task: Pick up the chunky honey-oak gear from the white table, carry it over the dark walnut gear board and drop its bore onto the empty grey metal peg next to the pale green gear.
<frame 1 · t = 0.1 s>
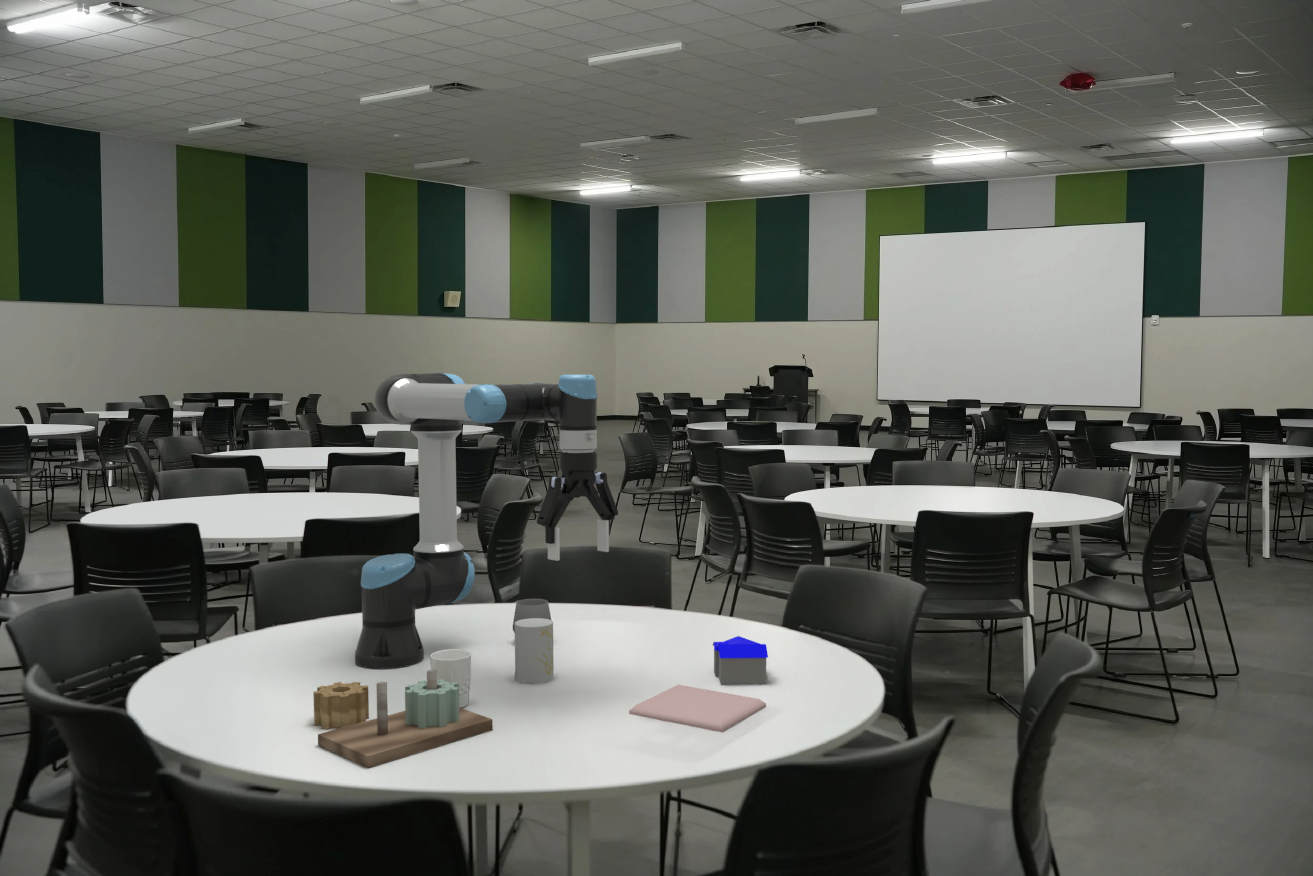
hand: (578, 555, 223), 28 cm above the table, fingers open, 13 cm apart
pale green gear: (432, 719, 200), resting on walnut gear board
house: (740, 679, 234), on the table
panel: (665, 724, 207), on the table
walnut gear board: (407, 737, 197), on the table
oak gear: (341, 720, 206), on the table
white cup: (451, 705, 216), on the table
cup 2: (532, 644, 263), on the table
grey cylinder: (534, 679, 234), on the table
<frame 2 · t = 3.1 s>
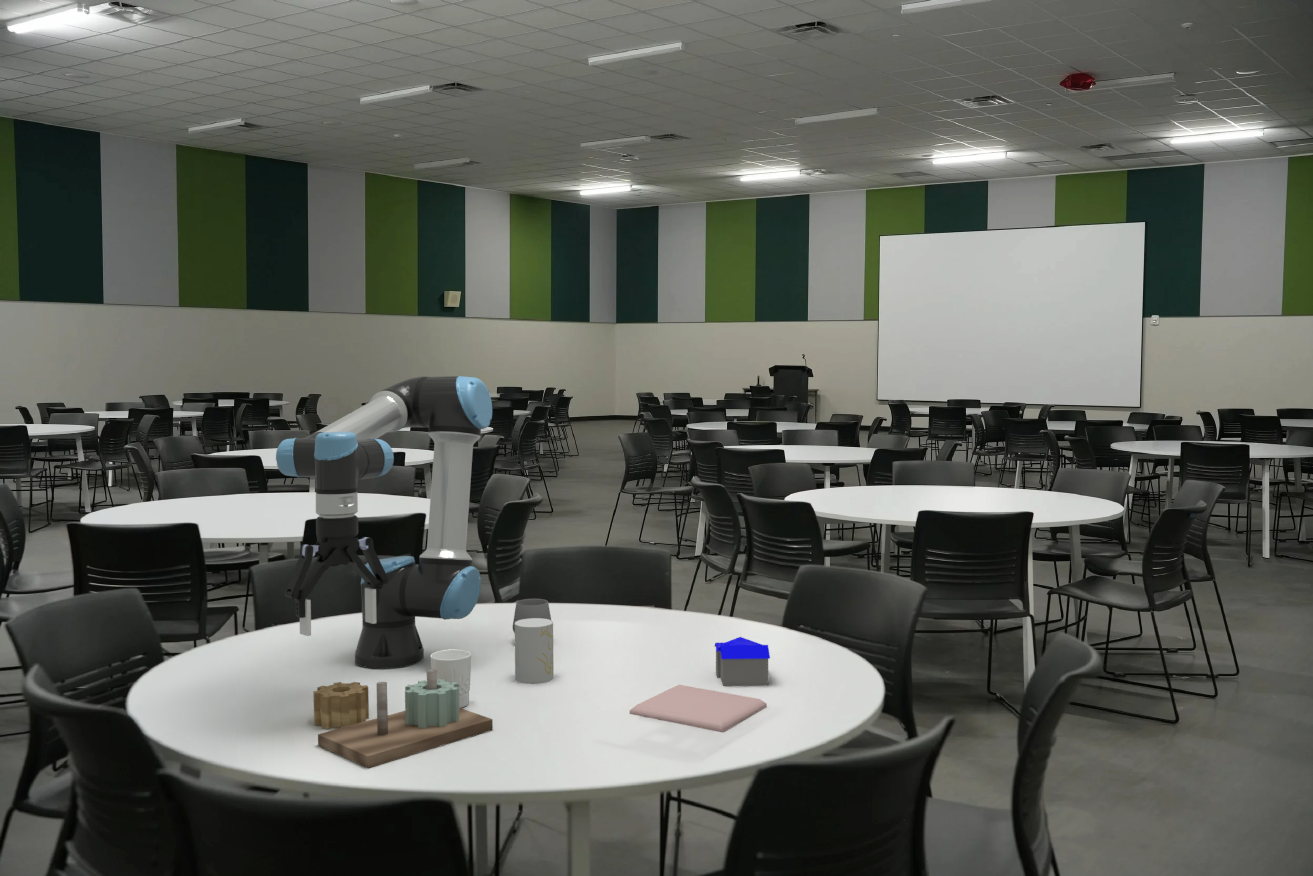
hand: (338, 628, 205), 18 cm above the table, fingers open, 13 cm apart
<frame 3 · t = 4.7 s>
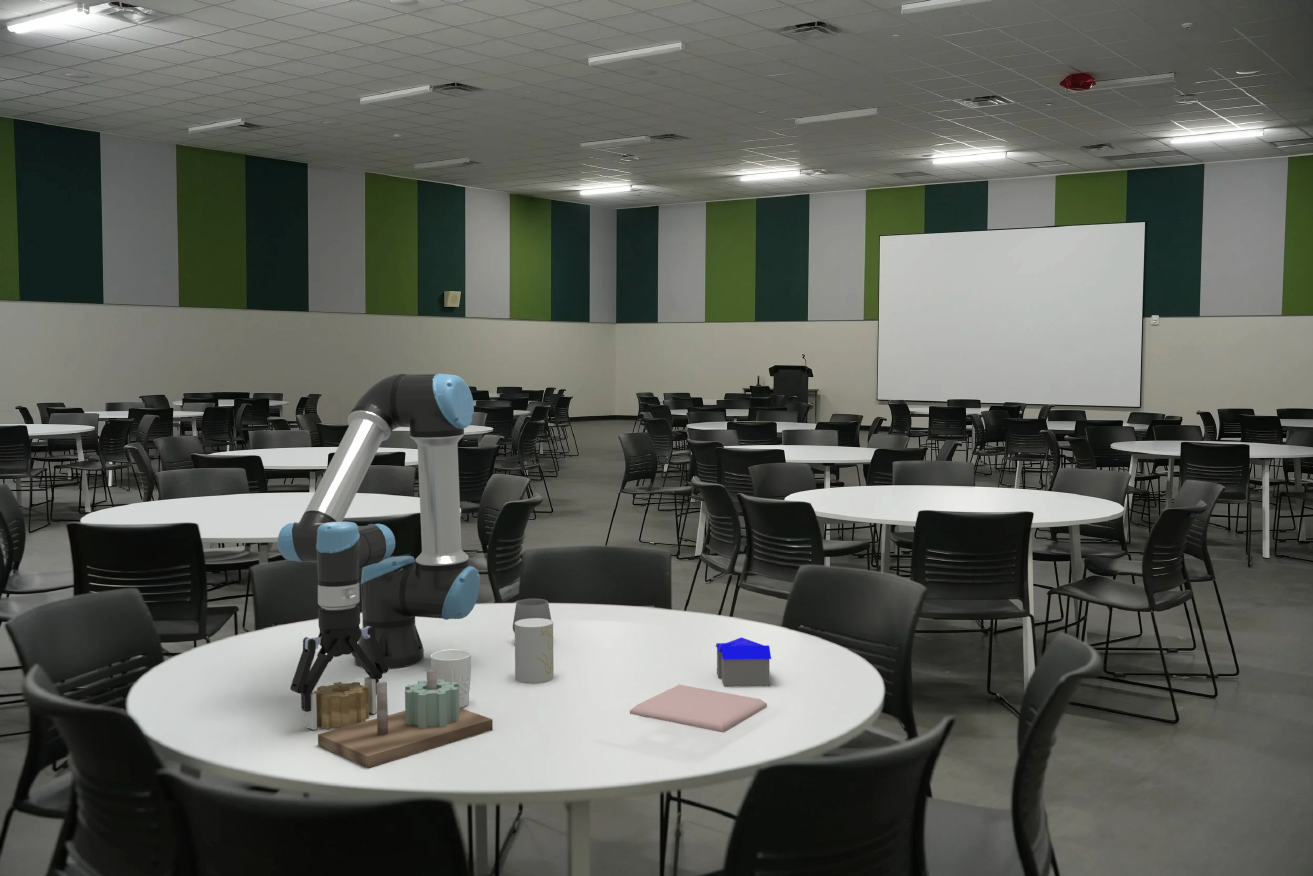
hand: (341, 719, 206), 0 cm above the table, fingers open, 12 cm apart
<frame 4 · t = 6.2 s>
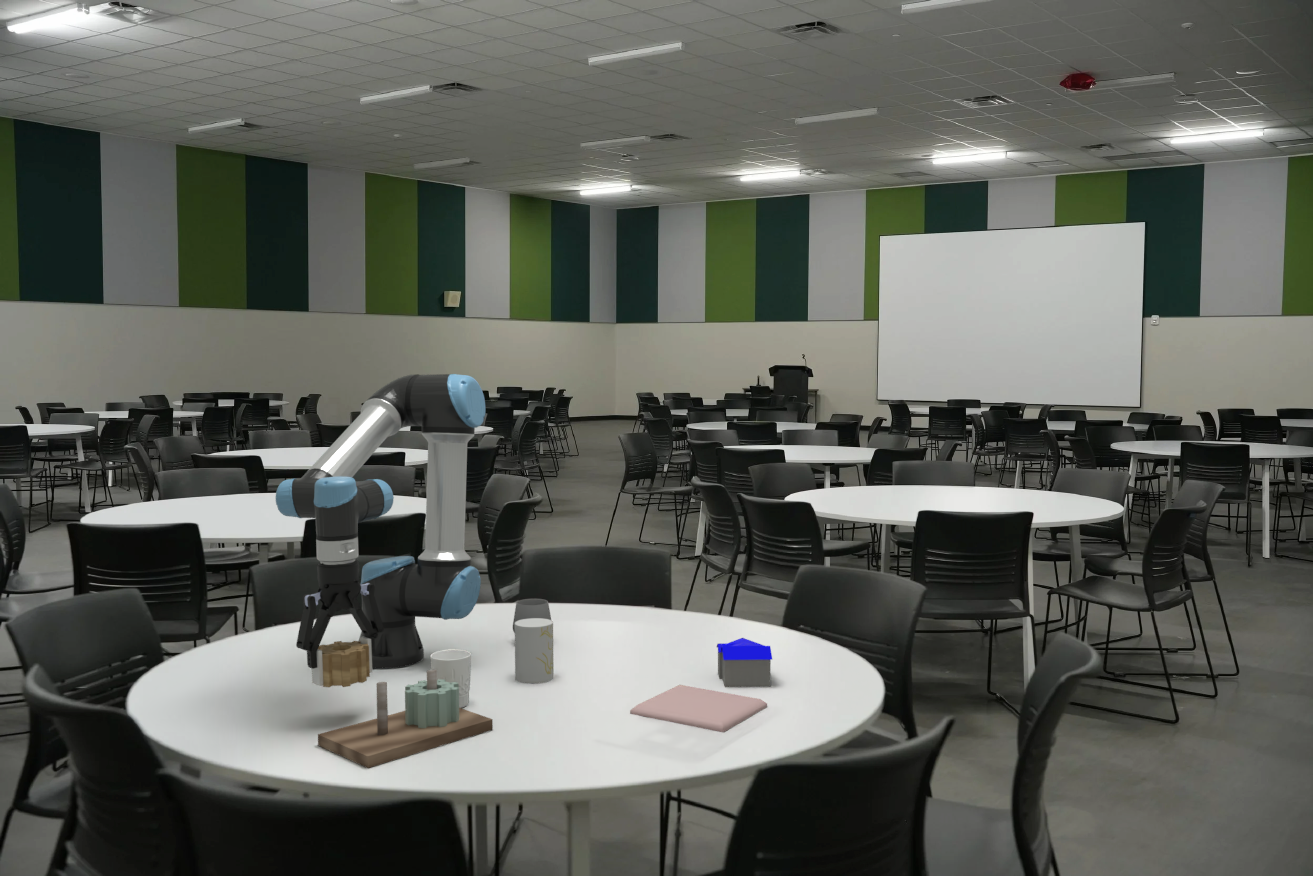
hand: (342, 677, 206), 8 cm above the table, fingers closed on oak gear, 10 cm apart
oak gear: (342, 679, 206), point 8 cm above the table, touching gripper
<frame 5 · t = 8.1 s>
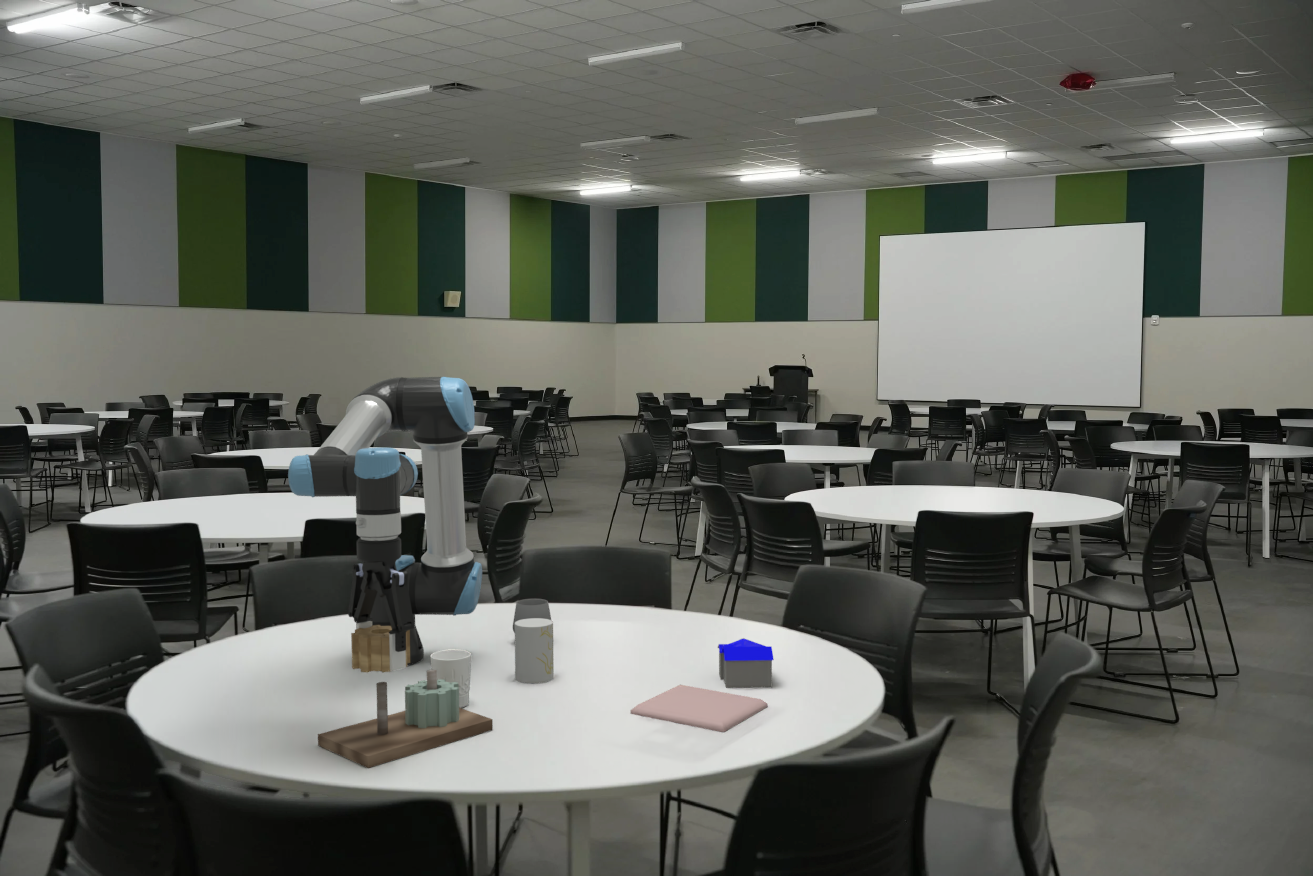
hand: (381, 663, 192), 14 cm above the table, fingers closed on oak gear, 10 cm apart
oak gear: (381, 665, 192), point 14 cm above the table, touching gripper
when the fingers open (4 cm above the table, at t = 10.3 s): oak gear drops 2 cm, resting on walnut gear board.
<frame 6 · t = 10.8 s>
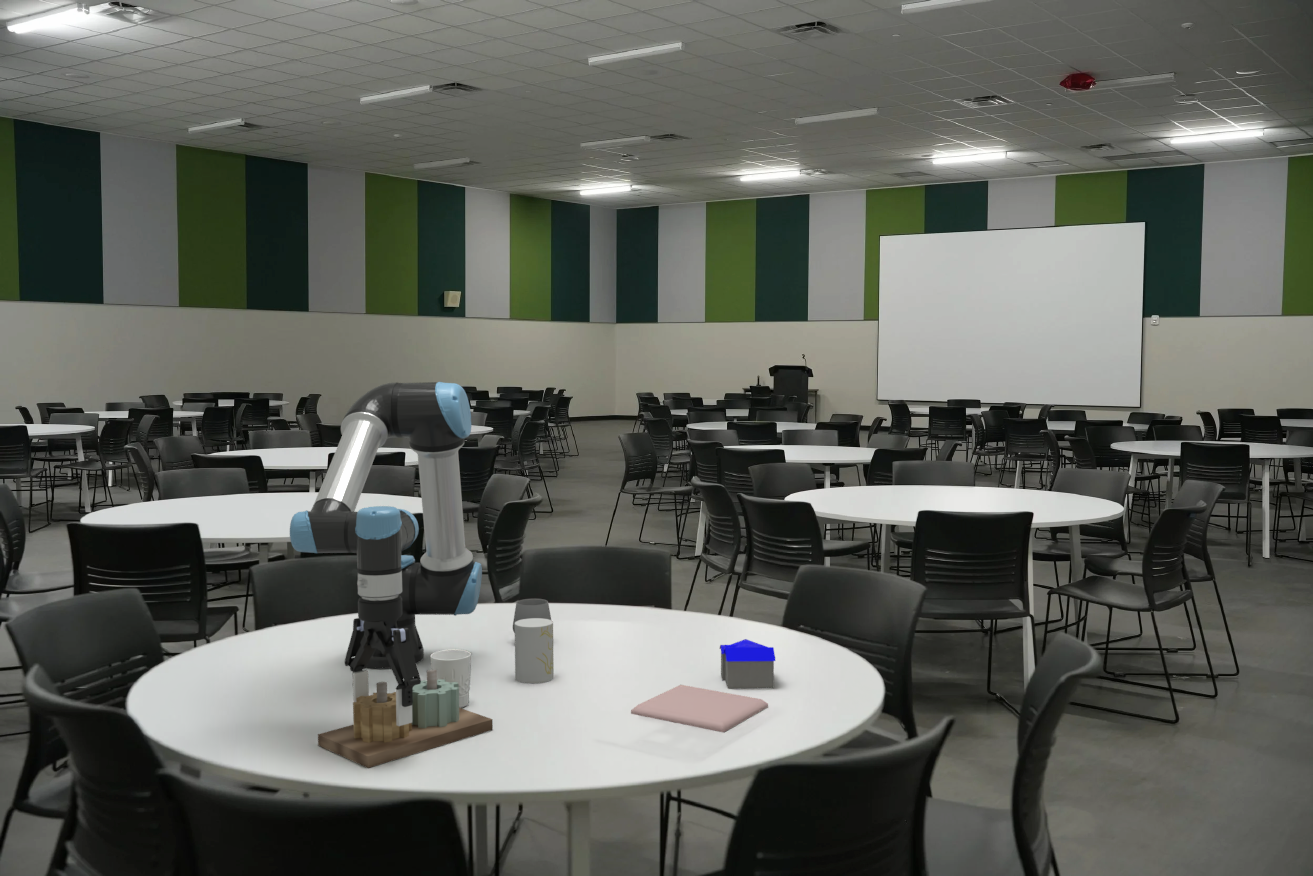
hand: (382, 715, 193), 5 cm above the table, fingers open, 13 cm apart
oak gear: (382, 733, 193), point 2 cm above the table, touching walnut gear board
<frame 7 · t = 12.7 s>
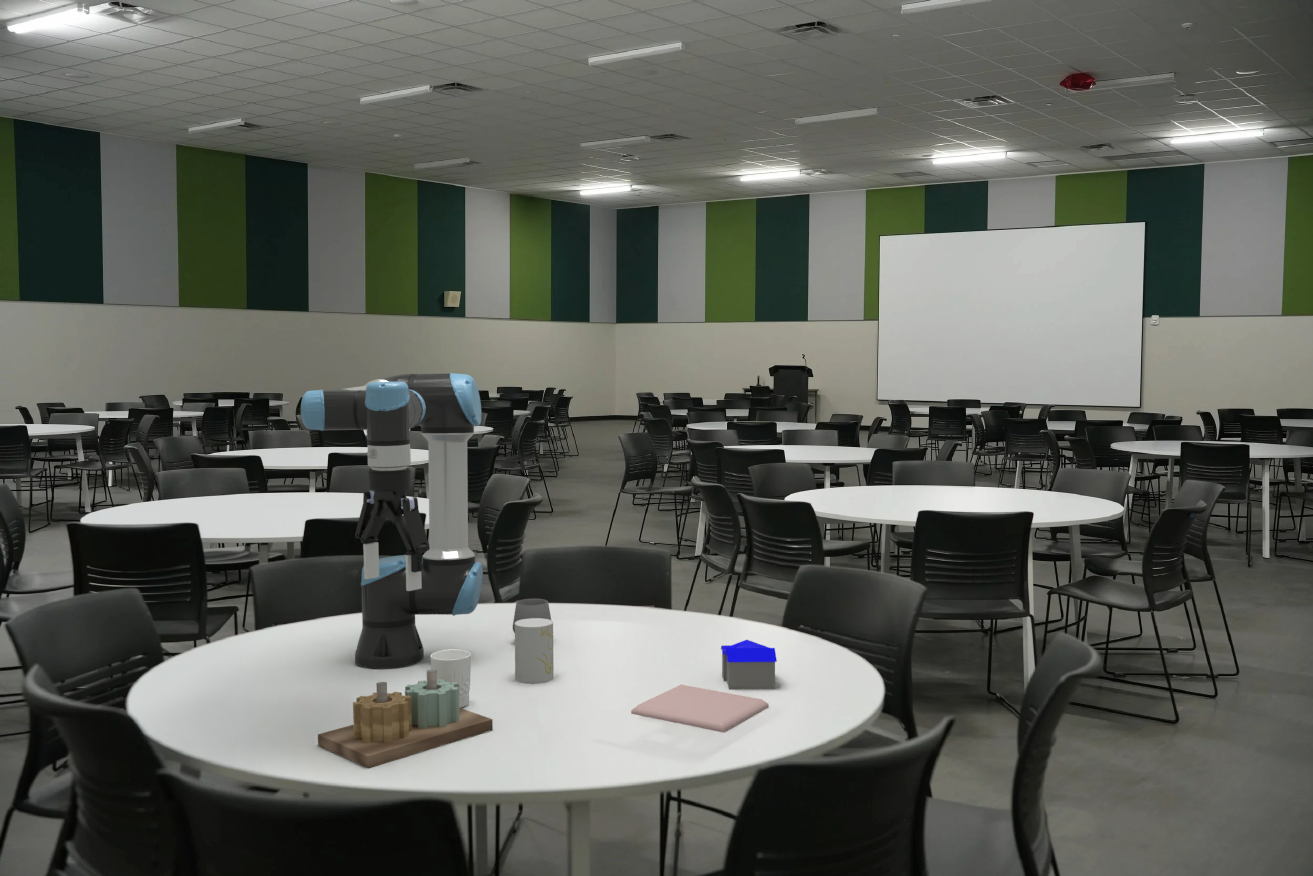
hand: (392, 583, 199), 27 cm above the table, fingers open, 13 cm apart
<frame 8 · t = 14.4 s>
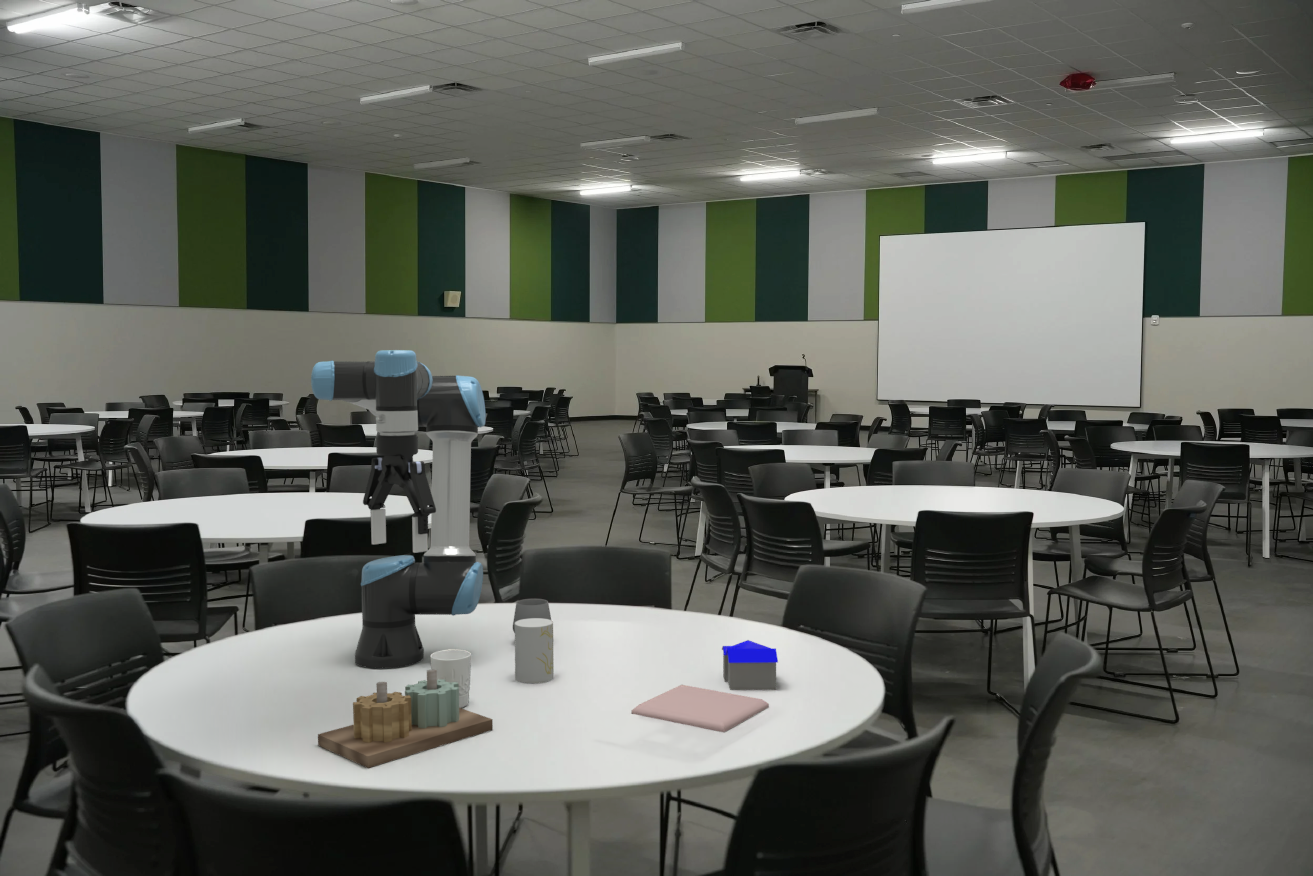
hand: (399, 547, 204), 33 cm above the table, fingers open, 13 cm apart
at the end: oak gear 0.0 cm from the target spot on the walnut gear board, point 2.0 cm above the walnut gear board's base; oak gear tilted 0°; the gripper is holding nothing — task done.
